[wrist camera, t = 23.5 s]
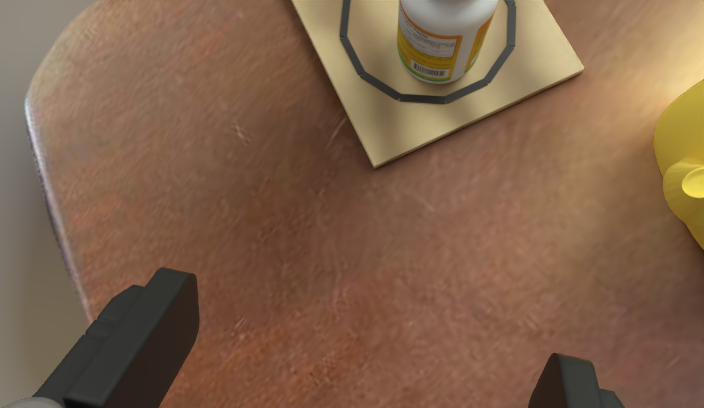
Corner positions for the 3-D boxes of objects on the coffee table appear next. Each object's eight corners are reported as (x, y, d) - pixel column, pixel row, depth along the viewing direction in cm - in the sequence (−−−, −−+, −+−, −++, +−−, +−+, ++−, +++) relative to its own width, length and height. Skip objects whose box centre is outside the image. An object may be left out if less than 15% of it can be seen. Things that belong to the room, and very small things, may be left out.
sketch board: (373, 169, 35) (373, 166, 34) (281, -18, 38) (279, -24, 37) (581, 73, 35) (586, 68, 34) (474, -104, 38) (476, -111, 38)
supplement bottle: (457, -2, 36) (483, -115, 27) (493, 66, 35) (534, -27, 25) (383, 29, 36) (383, -74, 26) (416, 99, 35) (430, 17, 25)
